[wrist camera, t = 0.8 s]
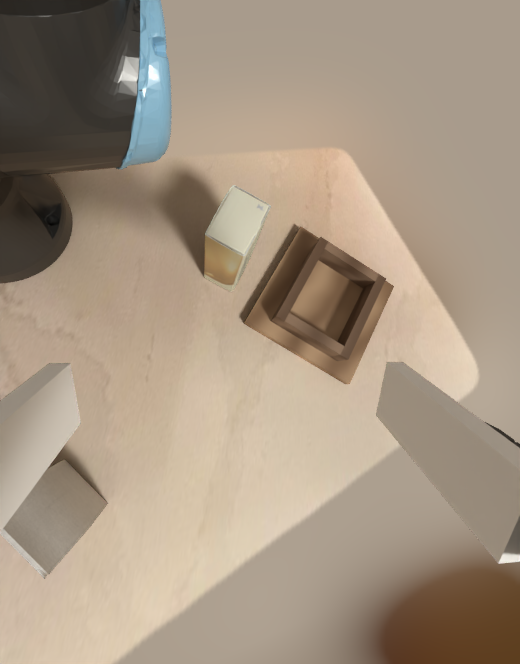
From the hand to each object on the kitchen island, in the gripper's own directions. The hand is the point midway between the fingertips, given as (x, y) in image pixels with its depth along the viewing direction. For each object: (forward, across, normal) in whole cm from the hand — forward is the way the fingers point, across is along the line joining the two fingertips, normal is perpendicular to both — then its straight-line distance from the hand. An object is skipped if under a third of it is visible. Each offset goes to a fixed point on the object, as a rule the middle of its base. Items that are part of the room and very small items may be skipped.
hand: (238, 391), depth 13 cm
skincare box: (+29, 0, +2) cm, 30 cm away
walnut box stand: (+28, +13, -3) cm, 31 cm away
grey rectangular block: (+16, -17, -21) cm, 31 cm away
